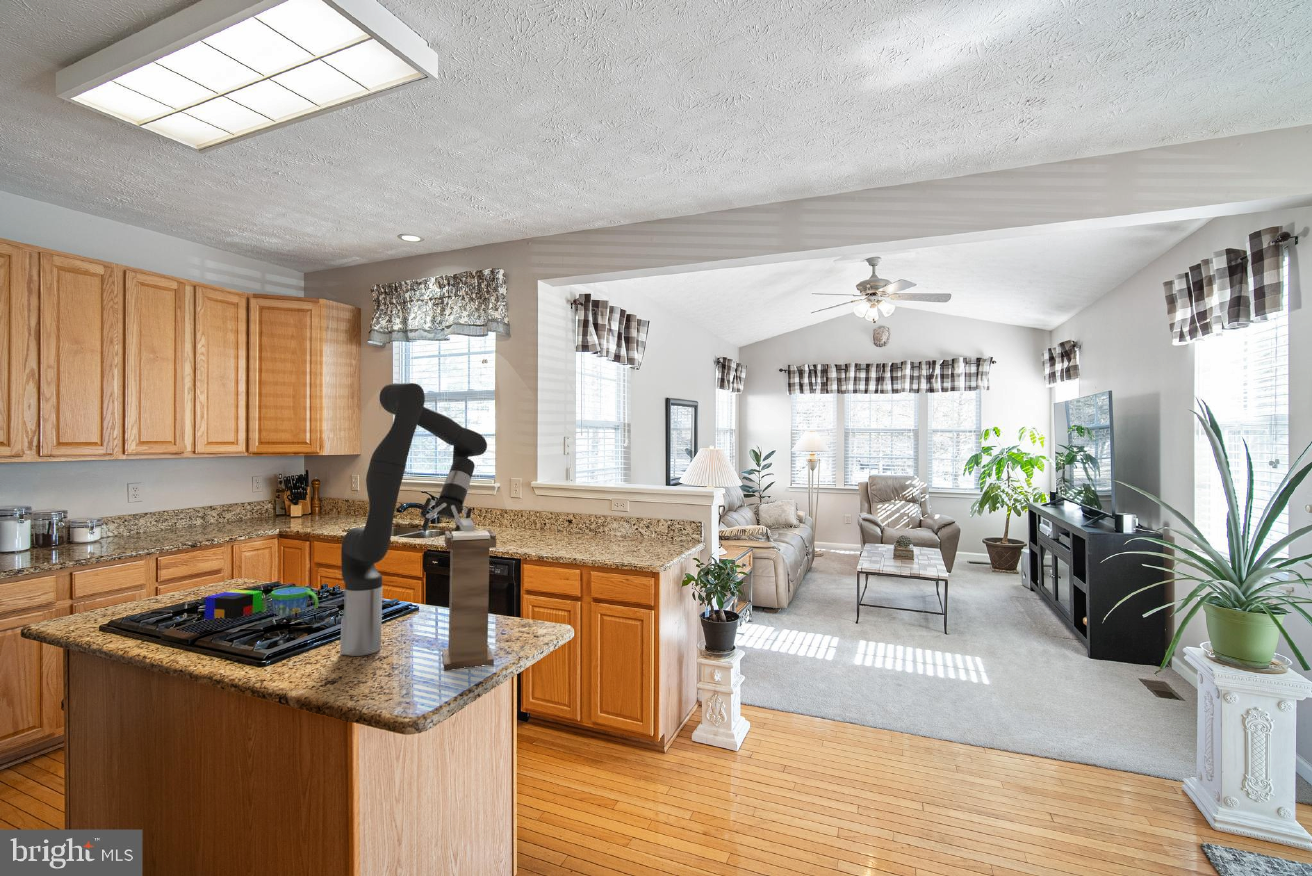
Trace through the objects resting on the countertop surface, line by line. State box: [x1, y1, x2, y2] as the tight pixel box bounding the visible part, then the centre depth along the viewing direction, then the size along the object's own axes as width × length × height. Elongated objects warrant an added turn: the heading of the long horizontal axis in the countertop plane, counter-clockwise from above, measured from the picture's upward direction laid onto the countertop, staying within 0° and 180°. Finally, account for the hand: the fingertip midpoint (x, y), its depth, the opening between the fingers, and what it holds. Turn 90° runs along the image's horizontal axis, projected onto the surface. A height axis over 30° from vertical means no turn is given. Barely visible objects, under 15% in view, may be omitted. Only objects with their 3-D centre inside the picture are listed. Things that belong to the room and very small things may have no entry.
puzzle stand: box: [441, 529, 497, 672], centre depth 156 cm, size 12×12×33 cm
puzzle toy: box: [204, 589, 263, 620], centre depth 181 cm, size 10×10×10 cm
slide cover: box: [450, 517, 490, 540], centre depth 163 cm, size 26×9×2 cm, turn 22°
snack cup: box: [261, 586, 319, 615], centre depth 186 cm, size 16×10×10 cm
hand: (439, 534), depth 178 cm, fingers open, 8 cm apart
